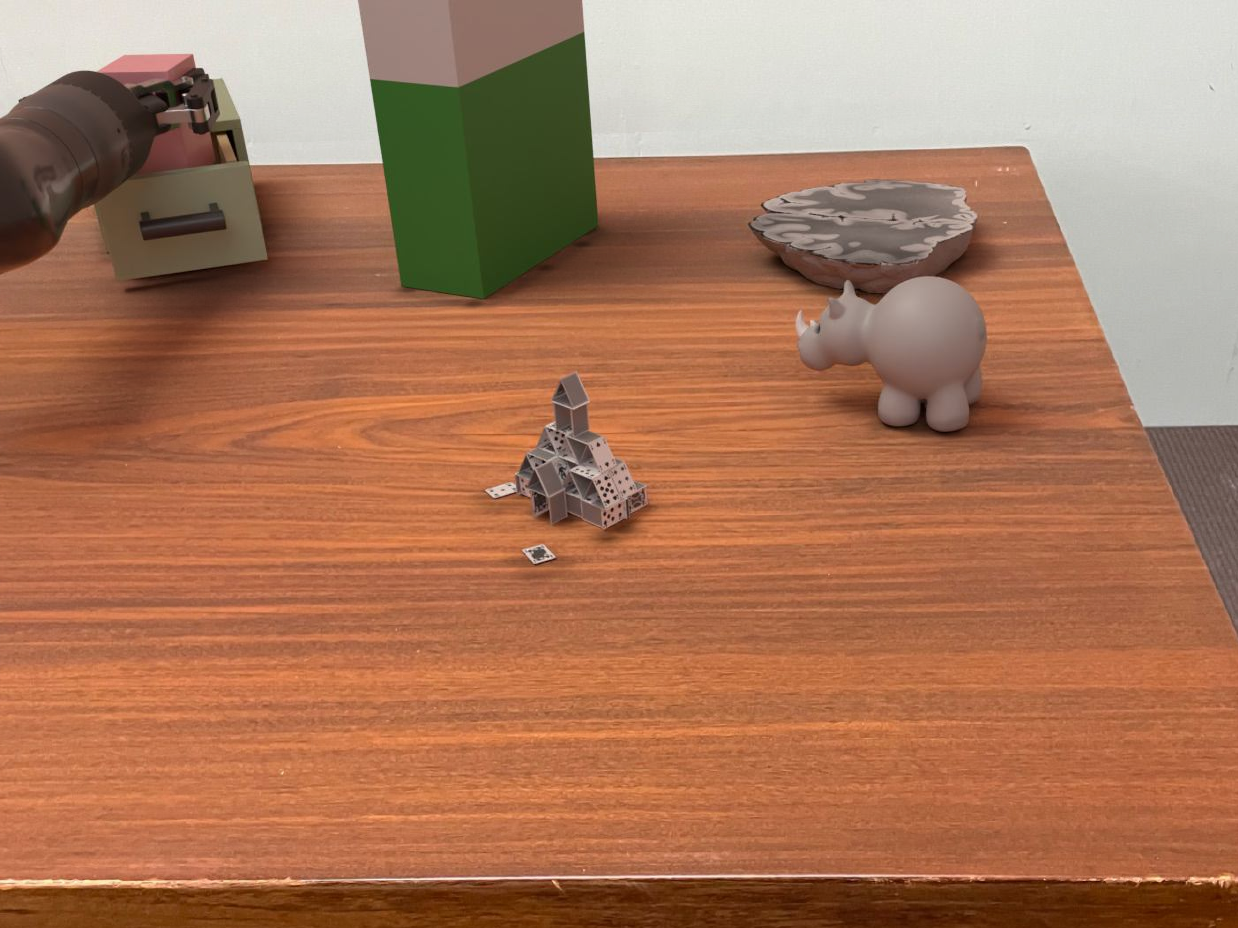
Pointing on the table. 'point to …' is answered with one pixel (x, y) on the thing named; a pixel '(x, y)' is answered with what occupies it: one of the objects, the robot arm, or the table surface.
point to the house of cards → (574, 470)
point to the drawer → (184, 218)
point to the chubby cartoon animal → (906, 348)
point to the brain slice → (868, 231)
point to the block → (179, 143)
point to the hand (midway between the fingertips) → (163, 82)
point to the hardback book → (481, 135)
